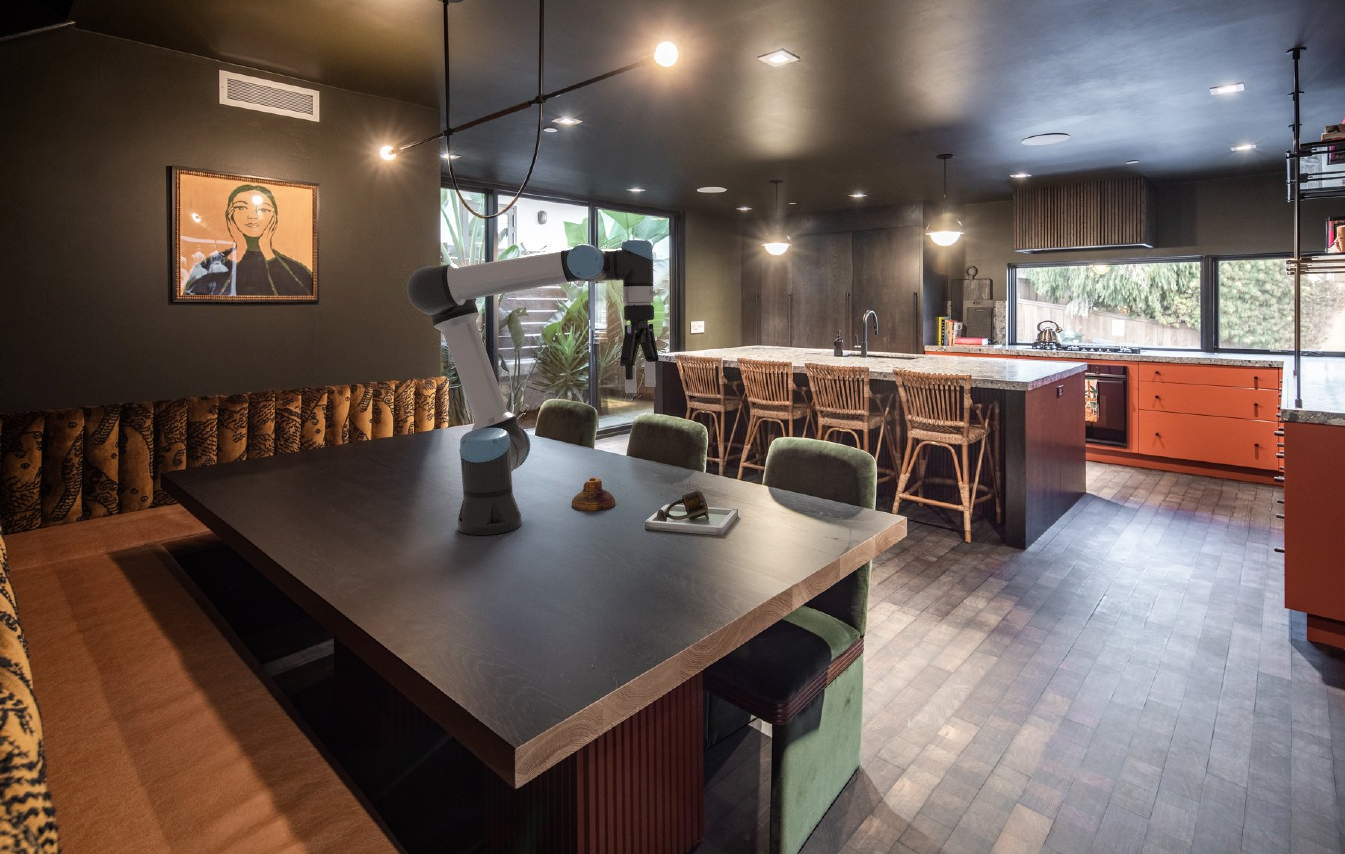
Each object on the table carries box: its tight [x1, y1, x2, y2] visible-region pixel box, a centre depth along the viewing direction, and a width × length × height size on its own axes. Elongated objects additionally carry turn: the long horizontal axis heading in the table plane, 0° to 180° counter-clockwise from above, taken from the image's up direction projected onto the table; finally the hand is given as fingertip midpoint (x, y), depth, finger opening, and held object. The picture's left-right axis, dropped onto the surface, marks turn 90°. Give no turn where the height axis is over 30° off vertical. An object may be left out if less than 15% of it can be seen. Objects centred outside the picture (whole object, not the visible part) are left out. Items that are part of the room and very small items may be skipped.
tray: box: [644, 503, 739, 536], centre depth 174 cm, size 19×16×2 cm
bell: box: [571, 477, 616, 512], centre depth 192 cm, size 12×12×7 cm
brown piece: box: [656, 489, 709, 522], centre depth 174 cm, size 7×13×10 cm
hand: (641, 389), depth 180 cm, fingers open, 13 cm apart
